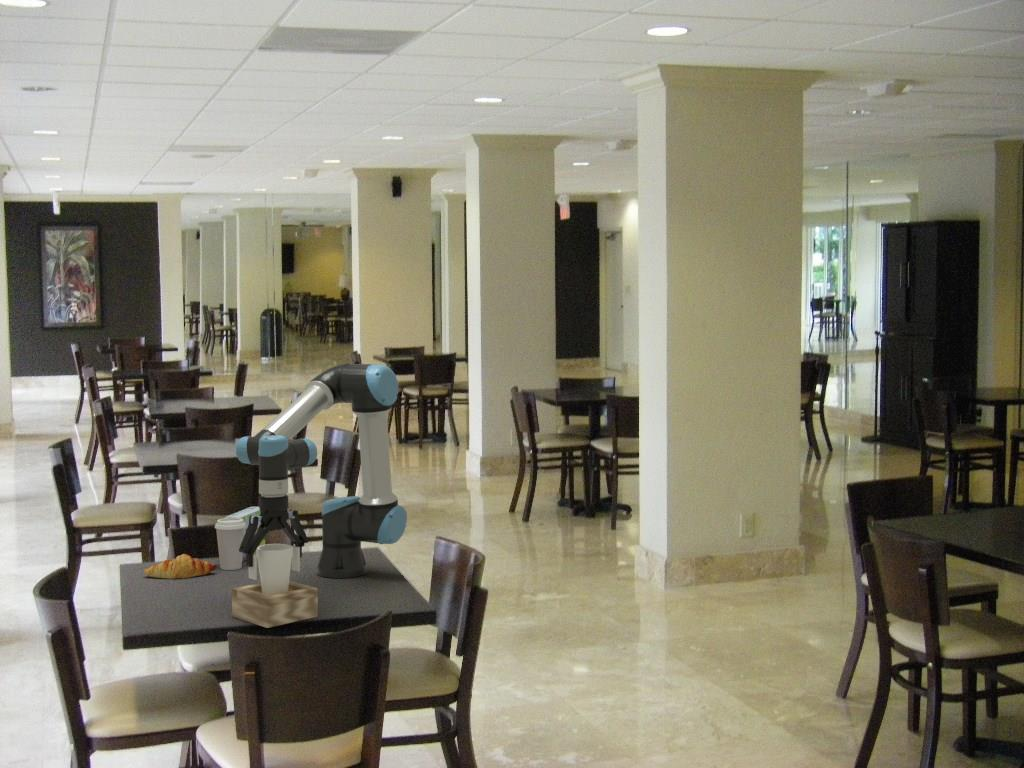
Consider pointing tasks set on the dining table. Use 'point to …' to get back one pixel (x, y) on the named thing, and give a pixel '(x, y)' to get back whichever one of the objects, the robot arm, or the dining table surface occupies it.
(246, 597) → the wooden box
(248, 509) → the snack box
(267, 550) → the foam cup
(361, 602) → the dining table surface
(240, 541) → the coffee cup
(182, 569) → the croissant
